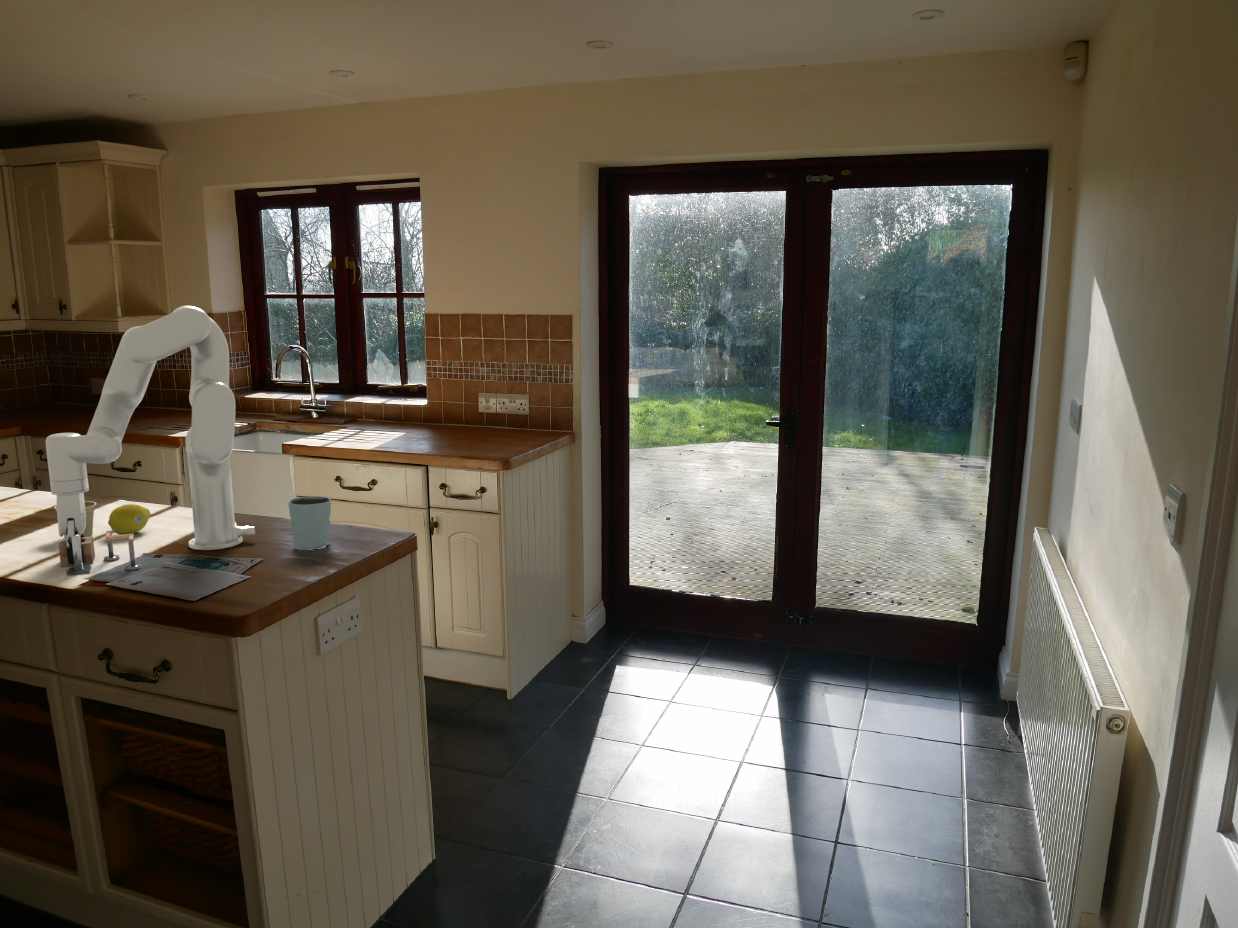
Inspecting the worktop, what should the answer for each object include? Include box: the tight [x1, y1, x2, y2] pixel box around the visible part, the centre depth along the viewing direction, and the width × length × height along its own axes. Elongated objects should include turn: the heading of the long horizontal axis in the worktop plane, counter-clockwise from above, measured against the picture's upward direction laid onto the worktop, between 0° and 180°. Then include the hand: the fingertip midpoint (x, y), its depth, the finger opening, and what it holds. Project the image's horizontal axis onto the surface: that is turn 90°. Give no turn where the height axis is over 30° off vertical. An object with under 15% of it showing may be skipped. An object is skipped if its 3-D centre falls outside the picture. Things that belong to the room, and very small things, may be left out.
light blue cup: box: [287, 495, 332, 551], centre depth 221 cm, size 10×10×12 cm
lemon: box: [107, 503, 151, 535], centre depth 231 cm, size 11×8×8 cm
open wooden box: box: [58, 535, 96, 568], centre depth 207 cm, size 6×6×5 cm
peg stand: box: [66, 534, 92, 576], centre depth 199 cm, size 4×4×9 cm
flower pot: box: [53, 500, 97, 539], centre depth 227 cm, size 9×9×9 cm
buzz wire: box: [103, 530, 142, 571], centre depth 205 cm, size 5×14×7 cm, turn 62°
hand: (78, 558), depth 207 cm, fingers closed on open wooden box, 6 cm apart
